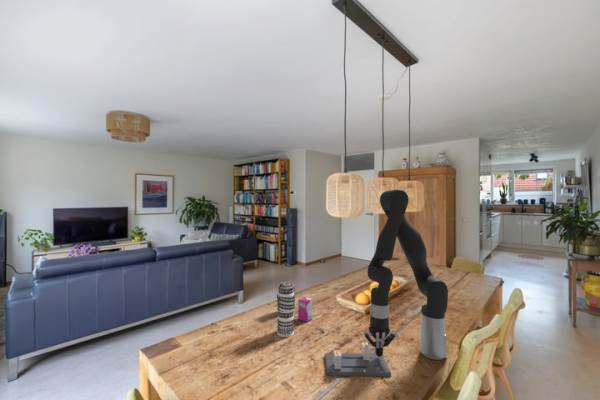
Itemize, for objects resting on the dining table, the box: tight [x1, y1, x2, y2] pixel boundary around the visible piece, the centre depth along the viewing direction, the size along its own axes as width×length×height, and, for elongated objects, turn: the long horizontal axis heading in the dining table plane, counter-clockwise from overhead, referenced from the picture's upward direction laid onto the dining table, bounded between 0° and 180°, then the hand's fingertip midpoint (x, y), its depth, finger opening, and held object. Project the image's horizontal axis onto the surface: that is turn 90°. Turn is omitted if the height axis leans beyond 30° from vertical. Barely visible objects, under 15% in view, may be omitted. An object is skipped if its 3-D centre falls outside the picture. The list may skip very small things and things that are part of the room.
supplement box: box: [297, 296, 313, 324], centre depth 148 cm, size 6×6×12 cm
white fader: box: [361, 341, 371, 360], centre depth 110 cm, size 2×4×5 cm, turn 0°
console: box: [324, 352, 392, 377], centre depth 107 cm, size 24×12×2 cm, turn 90°
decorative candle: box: [276, 281, 296, 338], centre depth 133 cm, size 9×9×25 cm
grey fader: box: [333, 349, 342, 369], centre depth 104 cm, size 2×4×5 cm, turn 0°
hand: (378, 355), depth 110 cm, fingers closed
